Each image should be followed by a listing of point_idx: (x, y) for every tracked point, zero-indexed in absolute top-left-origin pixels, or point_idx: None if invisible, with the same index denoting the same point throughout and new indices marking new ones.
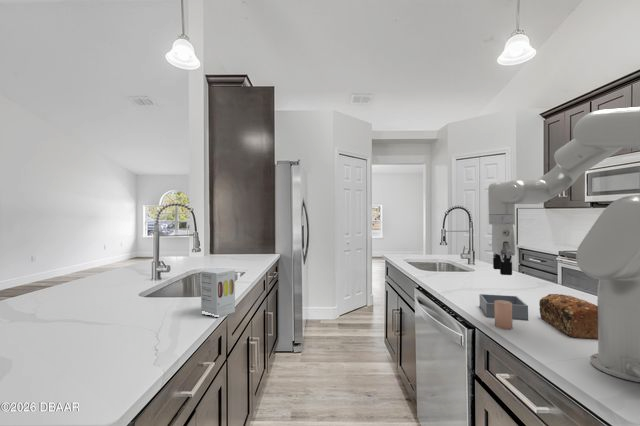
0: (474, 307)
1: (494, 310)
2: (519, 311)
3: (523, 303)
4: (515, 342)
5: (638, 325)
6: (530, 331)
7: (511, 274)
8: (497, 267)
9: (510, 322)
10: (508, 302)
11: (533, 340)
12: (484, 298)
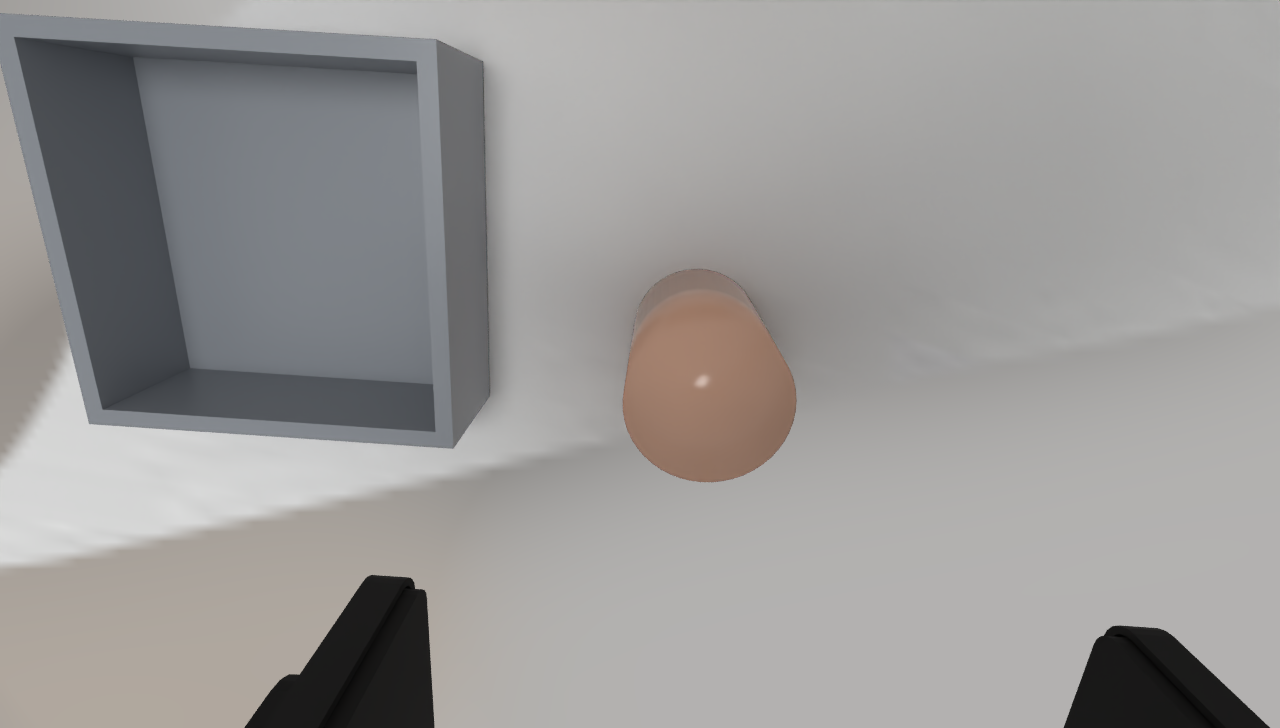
0: None
1: (471, 357)
2: (460, 136)
3: (342, 56)
4: (1016, 349)
5: None
6: (780, 156)
7: (1160, 639)
8: (419, 725)
9: (755, 309)
10: (710, 353)
11: (975, 209)
12: (130, 367)
